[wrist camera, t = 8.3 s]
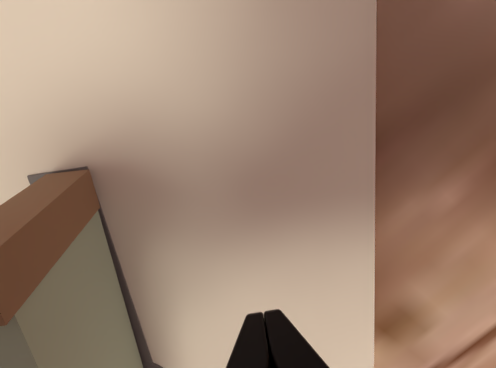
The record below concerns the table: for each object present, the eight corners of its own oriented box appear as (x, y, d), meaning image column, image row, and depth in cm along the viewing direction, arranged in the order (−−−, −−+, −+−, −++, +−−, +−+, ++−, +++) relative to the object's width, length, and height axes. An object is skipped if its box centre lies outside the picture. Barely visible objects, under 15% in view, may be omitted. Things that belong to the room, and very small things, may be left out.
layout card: (-57, 470, 17) (-65, 482, 16) (-396, 43, 9) (-429, 42, 9) (370, 396, 17) (374, 406, 17) (371, -65, 10) (378, -71, 9)
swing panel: (148, 377, 14) (110, 547, 9) (116, 381, 14) (60, 555, 9) (89, 169, 11) (-22, 265, 6) (46, 173, 11) (-103, 275, 6)
